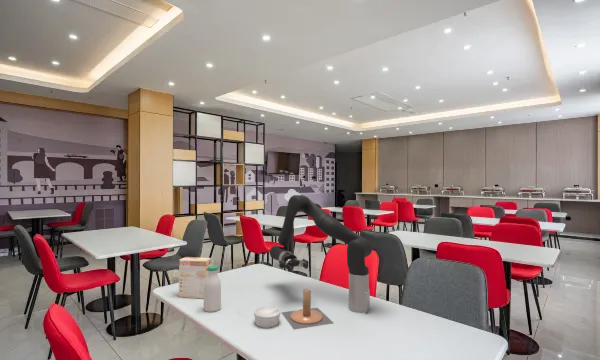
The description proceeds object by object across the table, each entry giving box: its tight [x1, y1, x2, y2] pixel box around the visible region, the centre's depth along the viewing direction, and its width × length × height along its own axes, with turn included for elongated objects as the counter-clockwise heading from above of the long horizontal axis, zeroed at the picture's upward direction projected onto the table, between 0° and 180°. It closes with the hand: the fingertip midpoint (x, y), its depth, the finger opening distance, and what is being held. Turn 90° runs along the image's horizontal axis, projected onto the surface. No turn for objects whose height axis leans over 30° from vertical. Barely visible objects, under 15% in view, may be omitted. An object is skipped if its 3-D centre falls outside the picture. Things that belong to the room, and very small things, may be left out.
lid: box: [291, 288, 323, 325], centre depth 141 cm, size 14×14×12 cm
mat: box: [280, 307, 334, 331], centre depth 141 cm, size 18×18×1 cm
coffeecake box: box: [178, 256, 212, 300], centre depth 168 cm, size 15×7×20 cm, turn 80°
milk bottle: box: [203, 265, 222, 313], centre depth 151 cm, size 8×8×20 cm
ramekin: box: [253, 306, 281, 329], centre depth 136 cm, size 11×11×5 cm
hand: (298, 267), depth 152 cm, fingers open, 8 cm apart
